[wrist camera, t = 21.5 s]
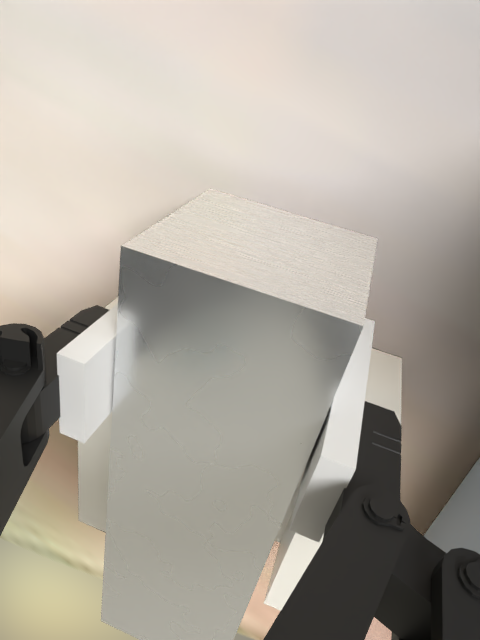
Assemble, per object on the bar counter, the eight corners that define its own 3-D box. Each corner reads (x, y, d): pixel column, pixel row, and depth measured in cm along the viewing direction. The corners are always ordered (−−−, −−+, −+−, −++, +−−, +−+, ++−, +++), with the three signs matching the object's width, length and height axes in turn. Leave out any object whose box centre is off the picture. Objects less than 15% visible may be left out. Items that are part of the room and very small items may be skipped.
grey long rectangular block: (254, 557, 23) (217, 677, 19) (158, 516, 24) (101, 620, 20) (378, 238, 14) (363, 326, 9) (210, 188, 15) (121, 245, 10)
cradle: (132, 445, 25) (78, 520, 21) (147, 272, 19) (76, 330, 15) (321, 522, 23) (303, 620, 19) (402, 358, 18) (400, 449, 13)
